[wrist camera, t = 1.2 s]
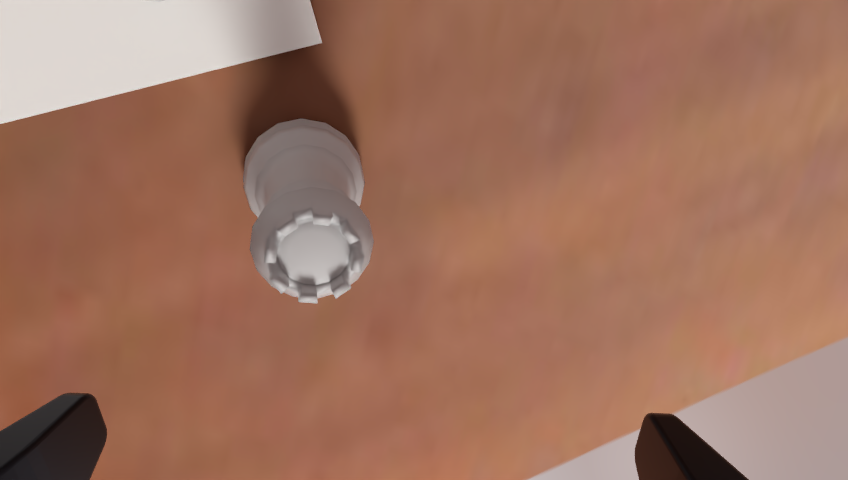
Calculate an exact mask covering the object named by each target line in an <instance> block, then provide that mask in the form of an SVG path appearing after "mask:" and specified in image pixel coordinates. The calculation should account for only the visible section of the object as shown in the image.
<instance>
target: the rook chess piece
mask: <svg viewBox="0 0 848 480" xmlns="http://www.w3.org/2000/svg"><path fill="white" fill-rule="evenodd" d="M243 182H244V186H243V187H244V190H245V193H246V197H247V200H248V203H249V206H250V209H251V210H252V211H253V212H254V213H255V215H256V216H257V217H258V219H257V220H256V222H255V223H254V225H253V227H252V235H251V243H250V251H251V254H252V257H253V260H254V263H255V266H256V269H257V271H258V272H259V273H260V274H261V275H262V276H263V277H264V279H265V280H266V281H267V282H268V283H269V284H270V285H271V286H272V287H274V288H276V289H277V290H278V291H279V292H280V293H281V294H282V293H283V292H284V293H286V294H288V295H291V296H293V297H298V302H305V303H317V298H320V297H324V296H328V295H332V294H334V296H335V298H338V297H339V296H341V295H342V294H343V293H345V292H346V291H348V290H349V289H351V284H352V283H354V282H355V281H356V280H357V279H358V278H359V277H360V275H361V274H362V272H363V271H364V269H365V268H366V266H367V265H368V263H369V262H370V257H371V252H372V247H373V242H374V240H373V236H372V231H371V227H370V222H369V220H368V218H367V217H366V216H365V214H364V213H363V212H362V210H361V209H360V208H359V206H360V204H361V200H362V195H363V189H364V184H365V181H364V175H363V171H362V166H361V162H360V157H359V154H358V152H357V151H356V150H355V148H354V147H353V145H352V144H351V142H350V141H349V140H348V138H347V137H346V136H345V135H344V134H342V133H341V132H339V131H338V130H336V129H334V128H333V127H331V126H330V125H328V124H327V123H324V122H318V121H313V120H307V119H302V118H301V119H296V120H291V121H287V122H282V123H277V124H276V125H274V126H273V127H272V128H270V129H269V130H267V131H266V132H264V133H263V134H262V135H260V136H259V137H258V138H257V139H256V141H255V142H254V144H253V146H252V147H251V149H250V151H249V152H248V154H247V156H246V158H245V167H244V176H243Z"/></svg>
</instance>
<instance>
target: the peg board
mask: <svg viewBox="0 0 848 480" xmlns="http://www.w3.org/2000/svg"><path fill="white" fill-rule="evenodd" d="M320 43H322V41H321V37H320V34H319V30H318V27H317V23H316V19H315V16H314V12H313V9H312V5H311V2H310V0H0V124H2V123H6V122H10V121H14V120H18V119H22V118H26V117H30V116H34V115H38V114H42V113H46V112H50V111H54V110H58V109H62V108H66V107H70V106H74V105H78V104H82V103H86V102H90V101H93V100H97V99H101V98H105V97H109V96H113V95H117V94H121V93H125V92H129V91H133V90H137V89H141V88H145V87H149V86H153V85H157V84H161V83H165V82H169V81H173V80H177V79H181V78H185V77H189V76H193V75H197V74H201V73H205V72H208V71H212V70H216V69H220V68H224V67H228V66H232V65H236V64H240V63H244V62H248V61H252V60H256V59H260V58H264V57H268V56H272V55H276V54H280V53H284V52H288V51H292V50H296V49H300V48H304V47H308V46H312V45H316V44H320Z"/></svg>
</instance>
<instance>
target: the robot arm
mask: <svg viewBox="0 0 848 480" xmlns="http://www.w3.org/2000/svg"><path fill="white" fill-rule="evenodd" d="M106 438H107V429H106V425H105V423H104V420H103V417H102V414H101V412H100V409H99V406H98V403H97V400H96V398H95V397H94V396H93V395H91V394H88V393H66V394H63V395H61V396H59V397H57V398H56V399H54V400H52V401H50V402H49V403H47V404H45V405H44V406H42V407H40V408H39V409H37V410H35V411H34V412H32V413H30V414H29V415H27V416H25V417H23V418H22V419H20V420H18V421H17V422H15V423H13V424H12V425H10V426H8V427H7V428H5V429H3V430H2V431H0V480H90V478H91V475H92V473H93V471H94V468H95V466H96V464H97V461H98V459H99V457H100V454H101V452H102V450H103V447H104V445H105V442H106ZM635 463H636V467H637V472H638V476H639V480H749V479H747V478H746V477H745V476H744V475H743V474H741V473H740V472H739V471H738V470H737V469H736V468H735V467H734V466H733V465H731V464H730V463H729V462H728V461H727V460H725V459H724V458H723V457H722V456H721V455H720V454H719V453H718V452H716V451H715V450H714V449H713V448H712V447H711V446H710V445H708V444H707V443H706V442H705V441H704V440H703V439H702V438H700V437H699V436H698V435H697V434H696V433H695V432H693V431H692V430H691V429H690V428H689V427H688V426H686V425H685V424H684V423H683V422H682V421H681V420H680V419H679V418H677V417H676V416H674V415H672V414H664V413H649V414H647V415H646V416H645V417H644V420H643V423H642V426H641V430H640V433H639V437H638V440H637V444H636V447H635Z"/></svg>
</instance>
